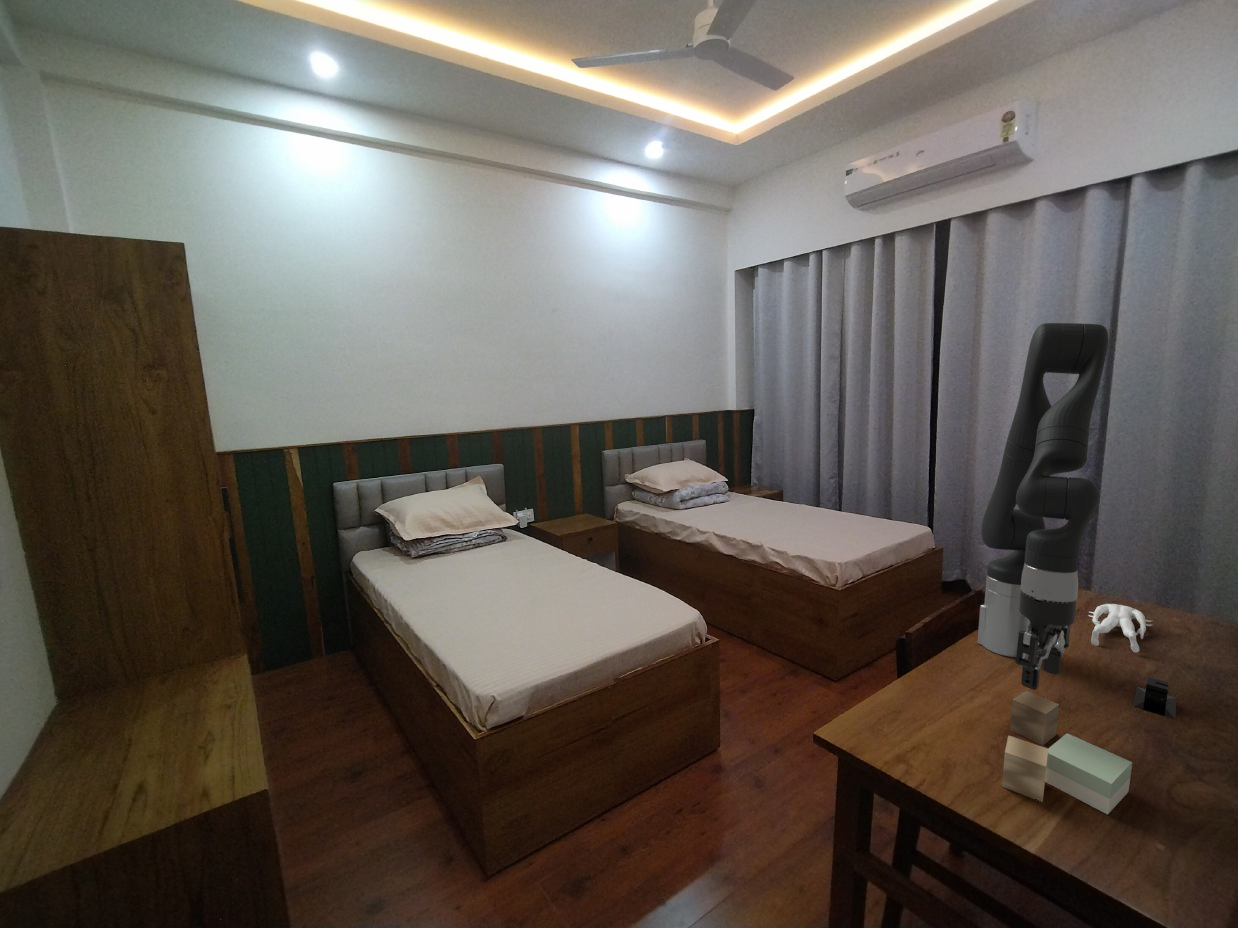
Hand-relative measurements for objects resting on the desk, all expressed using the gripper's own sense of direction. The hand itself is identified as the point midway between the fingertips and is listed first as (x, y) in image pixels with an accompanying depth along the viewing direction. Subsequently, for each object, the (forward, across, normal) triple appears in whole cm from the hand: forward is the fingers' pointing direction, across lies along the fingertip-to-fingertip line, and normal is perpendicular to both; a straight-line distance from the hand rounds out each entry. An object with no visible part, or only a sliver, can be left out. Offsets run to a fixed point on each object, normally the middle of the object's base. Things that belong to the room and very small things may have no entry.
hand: (1040, 679), depth 92 cm
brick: (+11, +15, +4) cm, 19 cm away
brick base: (+11, +8, +9) cm, 16 cm away
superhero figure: (+10, -60, -6) cm, 61 cm away
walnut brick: (+10, 0, -1) cm, 11 cm away
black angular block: (+11, -29, +8) cm, 32 cm away
